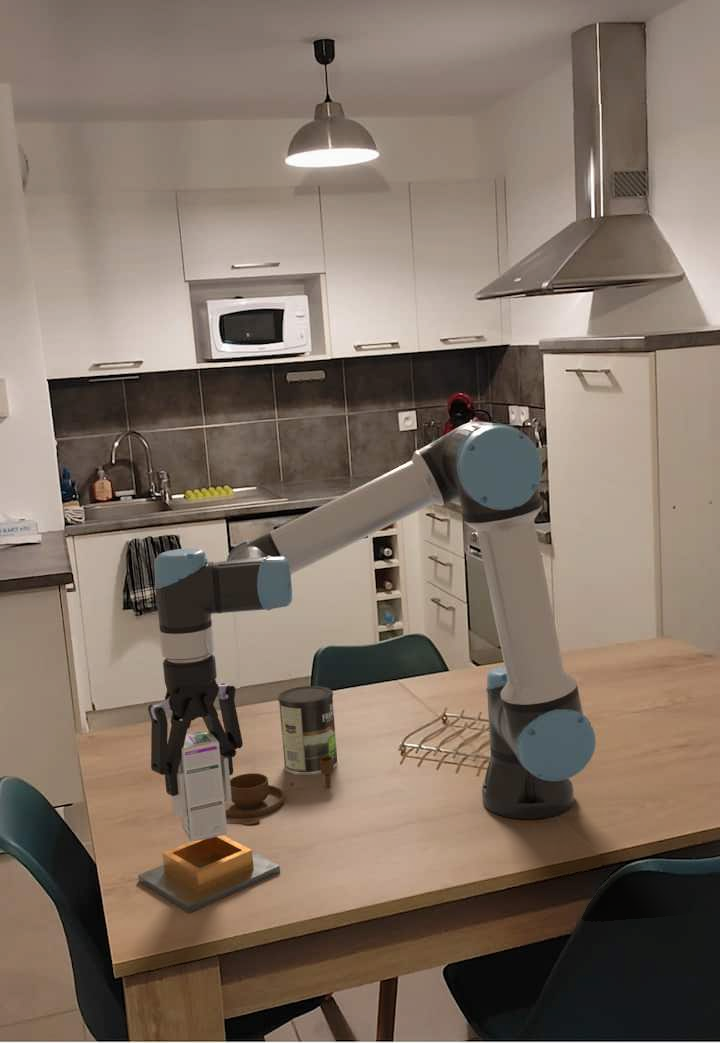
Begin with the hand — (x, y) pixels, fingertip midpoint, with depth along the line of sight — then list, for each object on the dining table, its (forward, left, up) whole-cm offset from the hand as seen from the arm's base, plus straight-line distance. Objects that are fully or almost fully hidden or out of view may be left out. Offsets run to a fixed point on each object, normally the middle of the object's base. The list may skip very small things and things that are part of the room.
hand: (202, 805), depth 158 cm
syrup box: (0, 0, -4) cm, 4 cm away
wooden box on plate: (0, 0, -11) cm, 11 cm away
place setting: (+14, -23, -12) cm, 29 cm away
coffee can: (+23, -38, -11) cm, 46 cm away
